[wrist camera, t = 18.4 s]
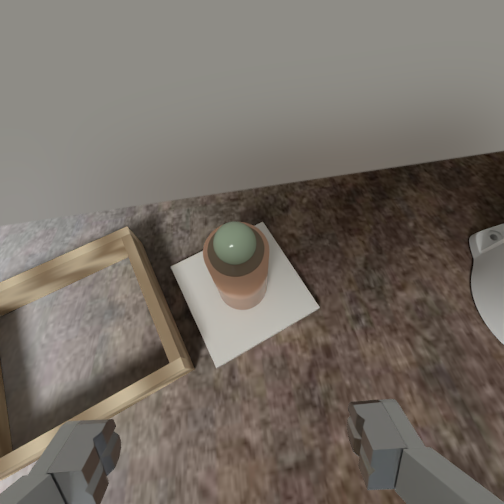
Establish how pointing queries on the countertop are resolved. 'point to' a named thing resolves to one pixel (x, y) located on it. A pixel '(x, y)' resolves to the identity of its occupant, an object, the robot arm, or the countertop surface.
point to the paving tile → (243, 321)
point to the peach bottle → (238, 263)
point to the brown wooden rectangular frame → (67, 272)
